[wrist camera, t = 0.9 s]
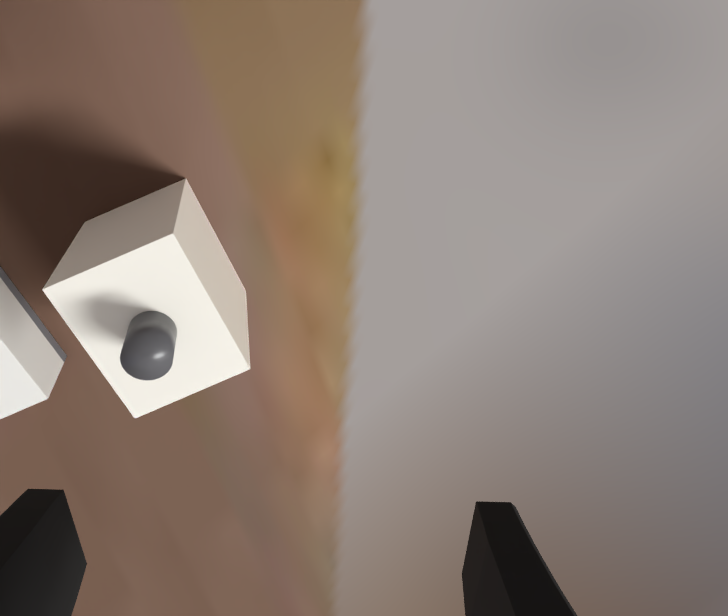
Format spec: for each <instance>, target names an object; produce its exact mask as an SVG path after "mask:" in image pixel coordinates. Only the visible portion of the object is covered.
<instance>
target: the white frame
mask: <svg viewBox="0 0 728 616" xmlns="http://www.w3.org/2000/svg"><path fill="white" fill-rule="evenodd" d="M66 357H67V355H66V354H65V353H64V351H63V350H62V349H61V347H60V346H59V345H58V343H57V342H56V341H55V339H54V338H53V336H52V335H51V334H50V332H49V331H48V330H47V328H46V327H45V326H44V324H43V323H42V322H41V320H40V319H39V318H38V316H37V315H36V314H35V312H34V311H33V310H32V308H31V307H30V306H29V304H28V303H27V301H26V300H25V299H24V297H23V296H22V295H21V293H20V292H19V291H18V289H17V288H16V287H15V285H14V284H13V283H12V281H11V280H10V279H9V277H8V276H7V275H6V273H5V272H4V271H3V269H2V268H1V266H0V419H2V418H4V417H6V416H9V415H11V414H13V413H16V412H18V411H20V410H23V409H25V408H27V407H30V406H32V405H34V404H37V403H39V402H41V401H44V400H46V399H48V397H49V395H50V393H51V391H52V388H53V386H54V384H55V382H56V379H57V377H58V375H59V373H60V370H61V368H62V366H63V364H64V361H65V359H66Z"/></svg>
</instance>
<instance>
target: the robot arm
mask: <svg viewBox="0 0 728 616" xmlns="http://www.w3.org/2000/svg"><path fill="white" fill-rule="evenodd" d="M86 565H87V563H86V560H85V557H84V553H83V550H82V547H81V544H80V541H79V538H78V534H77V531H76V528H75V525H74V522H73V518H72V515H71V512H70V509H69V506H68V503H67V499H66V496H65V493H64V490H50V489H28V490H26V491H25V492H24V493H23V494H22V495H21V496H20V497H19V498H18V499H17V500H16V501H15V502H14V503H13V504H12V505H11V506H10V507H9V508H8V509H7V510H6V511H5V512H4V513H3V514H2V515H1V516H0V616H71V615H72V611H73V608H74V605H75V602H76V599H77V596H78V592H79V589H80V586H81V582H82V579H83V575H84V572H85V568H86ZM462 581H463V592H464V603H465V615H466V616H577V615H576V613H575V611H574V610H573V608H572V607H571V605H570V603H569V602H568V600H567V599H566V597H565V596H564V594H563V592H562V591H561V589H560V587H559V586H558V584H557V582H556V581H555V579H554V577H553V576H552V574H551V572H550V571H549V569H548V567H547V565H546V563H545V562H544V560H543V558H542V556H541V555H540V553H539V551H538V549H537V547H536V546H535V544H534V542H533V540H532V538H531V536H530V535H529V533H528V531H527V529H526V527H525V525H524V523H523V521H522V519H521V517H520V515H519V513H518V511H517V509H516V507H515V506H514V505H513V504H512V503H510V502H476V505H475V510H474V515H473V520H472V526H471V530H470V535H469V541H468V546H467V551H466V556H465V561H464V566H463V571H462Z"/></svg>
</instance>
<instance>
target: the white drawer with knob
mask: <svg viewBox="0 0 728 616" xmlns="http://www.w3.org/2000/svg"><path fill="white" fill-rule="evenodd" d="M42 290H43V291H44V293H45V294H46V296H47V297H48V298H49V300H50V301H51V303H52V304H53V305H54V307H55V308H56V310H57V311H58V312H59V314H60V315H61V316H62V318H63V319H64V321H65V322H66V323H67V325H68V326H69V328H70V329H71V330H72V332H73V333H74V335H75V336H76V337H77V339H78V340H79V341H80V343H81V344H82V346H83V347H84V348H85V350H86V351H87V353H88V354H89V355H90V357H91V358H92V360H93V361H94V362H95V364H96V365H97V367H98V368H99V369H100V371H101V372H102V373H103V375H104V376H105V378H106V379H107V380H108V382H109V383H110V385H111V386H112V387H113V389H114V390H115V392H116V393H117V394H118V396H119V397H120V398H121V400H122V401H123V403H124V404H125V405H126V407H127V408H128V410H129V411H130V412H131V414H132V415H133V417H134V418H137V417H140V416H142V415H144V414H147V413H149V412H151V411H154V410H156V409H158V408H161V407H163V406H165V405H168V404H170V403H172V402H175V401H177V400H179V399H182V398H184V397H186V396H189V395H191V394H193V393H196V392H198V391H200V390H203V389H205V388H207V387H210V386H212V385H214V384H216V383H219V382H221V381H223V380H226V379H228V378H230V377H233V376H235V375H237V374H240V373H242V372H244V371H247V370H249V369H250V354H249V336H248V319H247V301H246V290H245V288H244V286H243V285H242V283H241V281H240V279H239V277H238V275H237V273H236V271H235V270H234V268H233V266H232V264H231V262H230V260H229V258H228V256H227V255H226V253H225V251H224V249H223V247H222V245H221V243H220V241H219V240H218V238H217V236H216V234H215V232H214V230H213V228H212V226H211V225H210V223H209V221H208V219H207V217H206V215H205V213H204V211H203V209H202V208H201V206H200V204H199V202H198V200H197V198H196V196H195V194H194V193H193V191H192V189H191V187H190V185H189V183H188V181H187V179H186V178H185V179H183V180H181V181H178V182H176V183H174V184H172V185H169V186H167V187H165V188H162V189H160V190H158V191H155V192H153V193H151V194H148V195H146V196H144V197H141V198H139V199H137V200H134V201H132V202H130V203H127V204H125V205H123V206H120V207H118V208H116V209H113V210H111V211H109V212H106V213H104V214H102V215H99V216H97V217H95V218H92V219H90V220H88V221H86V222H84V224H83V226H82V227H81V229H80V230H79V232H78V233H77V235H76V237H75V238H74V240H73V241H72V243H71V245H70V246H69V248H68V249H67V251H66V253H65V254H64V256H63V257H62V259H61V260H60V262H59V264H58V265H57V267H56V268H55V270H54V272H53V273H52V275H51V276H50V278H49V280H48V281H47V283H46V284H45V286H44V287H43V289H42Z"/></svg>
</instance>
